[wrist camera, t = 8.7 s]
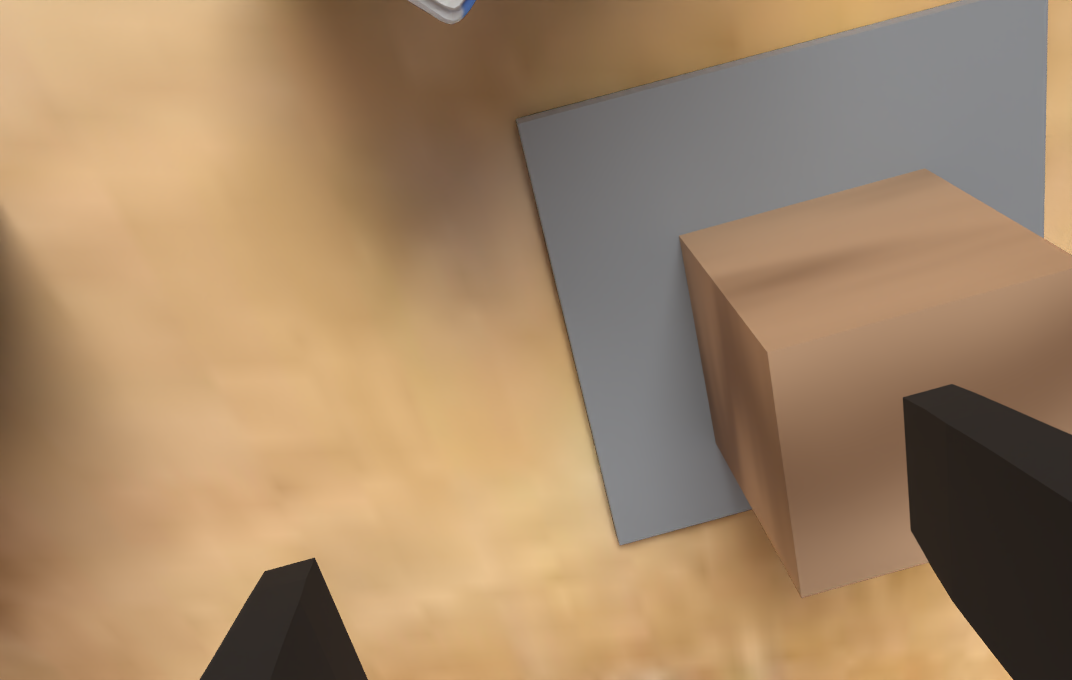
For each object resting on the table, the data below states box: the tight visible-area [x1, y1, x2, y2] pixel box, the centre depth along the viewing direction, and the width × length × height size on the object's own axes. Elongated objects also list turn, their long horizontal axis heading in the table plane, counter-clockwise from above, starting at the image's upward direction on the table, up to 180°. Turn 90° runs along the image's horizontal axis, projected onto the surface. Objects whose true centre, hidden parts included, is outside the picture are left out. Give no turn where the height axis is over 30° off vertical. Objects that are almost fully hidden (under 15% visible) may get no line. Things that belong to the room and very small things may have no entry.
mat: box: [516, 0, 1048, 545], centre depth 22 cm, size 11×11×1 cm
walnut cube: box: [679, 168, 1072, 598], centre depth 20 cm, size 6×6×6 cm
